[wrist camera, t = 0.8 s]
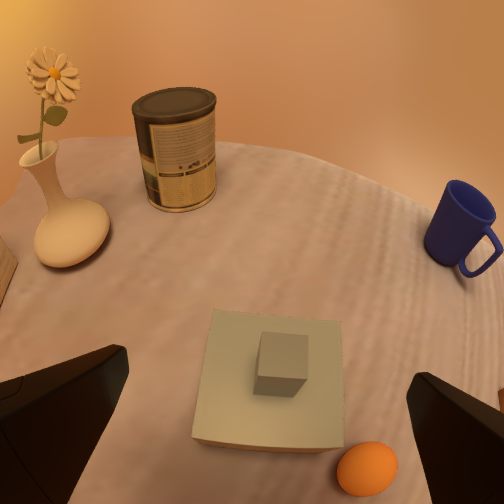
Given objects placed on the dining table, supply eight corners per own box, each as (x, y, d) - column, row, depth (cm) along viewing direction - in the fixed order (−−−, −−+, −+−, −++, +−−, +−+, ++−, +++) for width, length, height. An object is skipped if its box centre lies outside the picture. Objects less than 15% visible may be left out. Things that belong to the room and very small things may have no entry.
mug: (446, 300, 32) (489, 248, 25) (409, 231, 40) (436, 177, 32) (482, 290, 33) (521, 243, 26) (445, 229, 41) (473, 181, 33)
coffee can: (133, 202, 40) (114, 112, 30) (171, 165, 47) (164, 84, 36) (195, 222, 38) (187, 120, 28) (228, 179, 45) (230, 91, 34)
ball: (380, 491, 18) (408, 492, 14) (327, 497, 18) (347, 502, 14) (381, 442, 21) (408, 434, 18) (330, 446, 21) (350, 440, 18)
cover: (320, 452, 21) (370, 439, 13) (200, 443, 21) (180, 429, 13) (322, 350, 28) (359, 289, 20) (216, 340, 28) (210, 274, 20)
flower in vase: (79, 288, 30) (-11, 76, 12) (25, 259, 32) (-50, 92, 13) (135, 214, 39) (103, 27, 20) (79, 198, 41) (40, 43, 22)
